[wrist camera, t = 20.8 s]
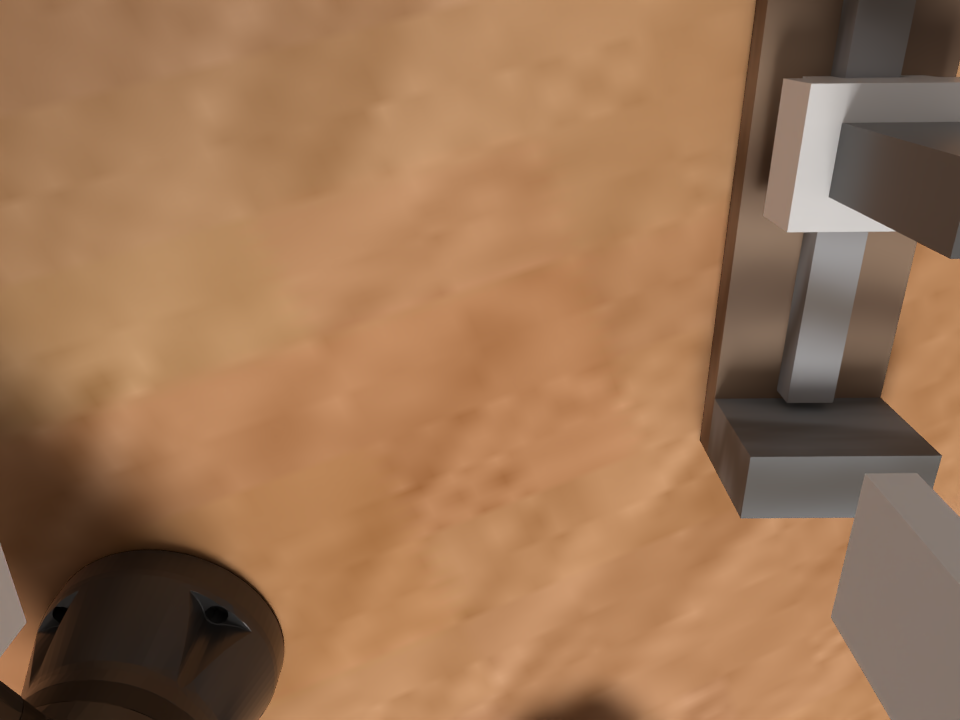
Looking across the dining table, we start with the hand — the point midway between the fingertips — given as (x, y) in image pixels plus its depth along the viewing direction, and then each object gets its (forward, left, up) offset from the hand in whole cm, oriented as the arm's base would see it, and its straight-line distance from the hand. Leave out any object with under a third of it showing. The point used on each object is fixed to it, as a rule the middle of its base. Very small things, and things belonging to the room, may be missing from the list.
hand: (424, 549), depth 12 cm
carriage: (+2, -18, -27) cm, 32 cm away
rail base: (0, -18, -29) cm, 34 cm away
